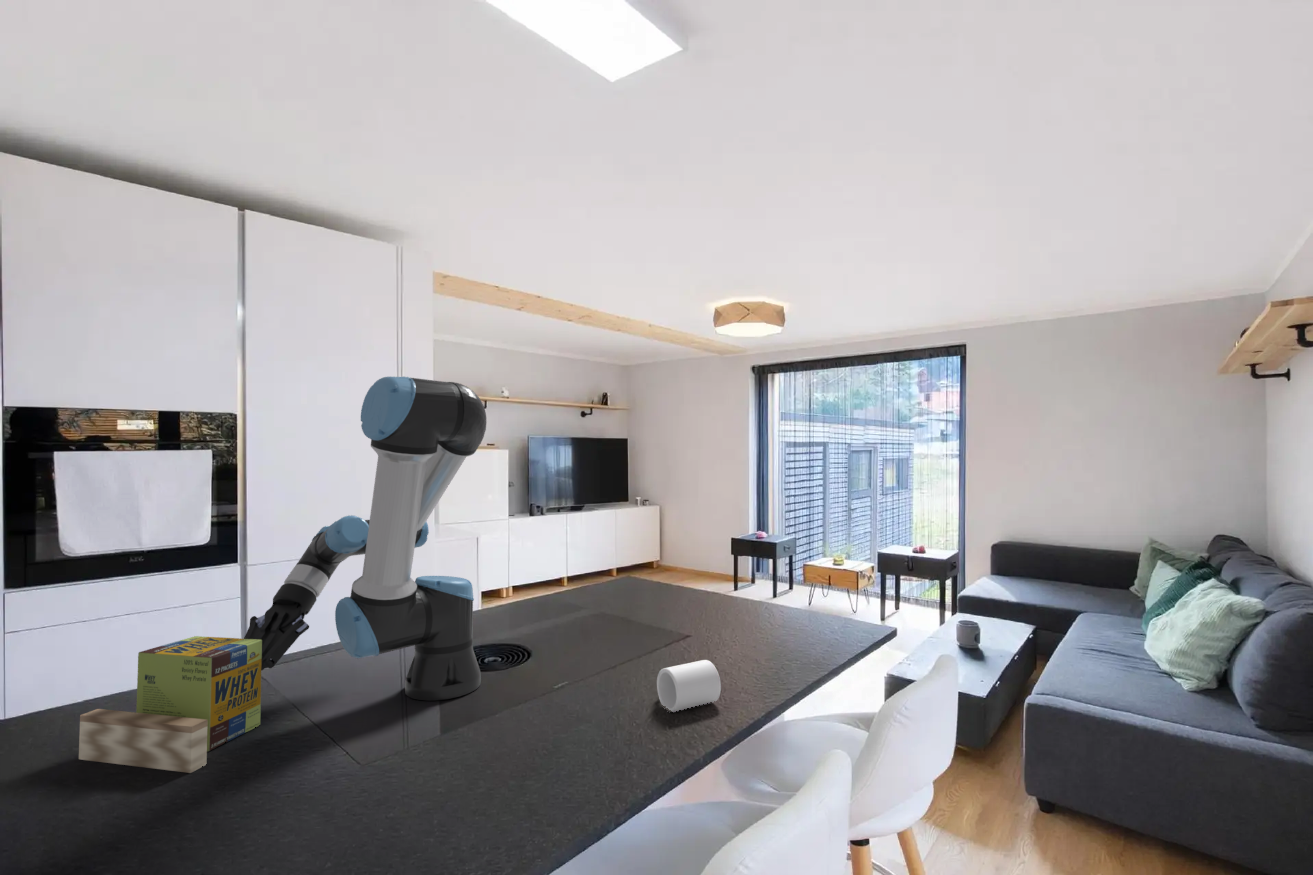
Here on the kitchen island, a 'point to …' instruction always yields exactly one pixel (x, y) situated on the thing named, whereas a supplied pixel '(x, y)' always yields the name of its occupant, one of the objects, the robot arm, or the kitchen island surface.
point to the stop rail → (143, 740)
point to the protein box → (204, 684)
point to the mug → (688, 685)
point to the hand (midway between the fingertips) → (228, 701)
